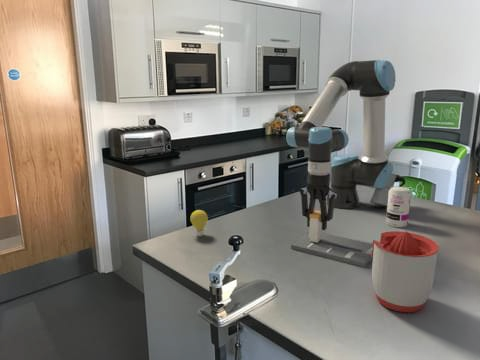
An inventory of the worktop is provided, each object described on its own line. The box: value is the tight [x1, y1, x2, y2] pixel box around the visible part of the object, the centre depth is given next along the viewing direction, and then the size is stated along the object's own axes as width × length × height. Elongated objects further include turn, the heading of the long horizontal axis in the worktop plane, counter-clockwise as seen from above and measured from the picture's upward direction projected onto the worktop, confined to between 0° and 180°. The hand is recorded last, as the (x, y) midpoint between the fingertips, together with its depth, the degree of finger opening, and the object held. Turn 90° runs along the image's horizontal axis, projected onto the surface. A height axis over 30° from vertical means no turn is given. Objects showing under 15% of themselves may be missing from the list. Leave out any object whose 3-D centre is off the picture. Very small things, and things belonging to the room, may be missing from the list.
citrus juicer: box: [366, 230, 440, 314], centre depth 104 cm, size 16×17×20 cm
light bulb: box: [189, 209, 209, 237], centre depth 151 cm, size 7×7×10 cm
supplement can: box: [385, 185, 412, 229], centre depth 158 cm, size 8×8×15 cm
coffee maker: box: [369, 172, 406, 208], centre depth 180 cm, size 15×9×18 cm, turn 72°
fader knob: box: [310, 210, 322, 243], centre depth 141 cm, size 5×3×10 cm, turn 145°
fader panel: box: [290, 231, 373, 268], centre depth 138 cm, size 16×26×2 cm, turn 55°
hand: (316, 236), depth 142 cm, fingers closed on fader knob, 3 cm apart
